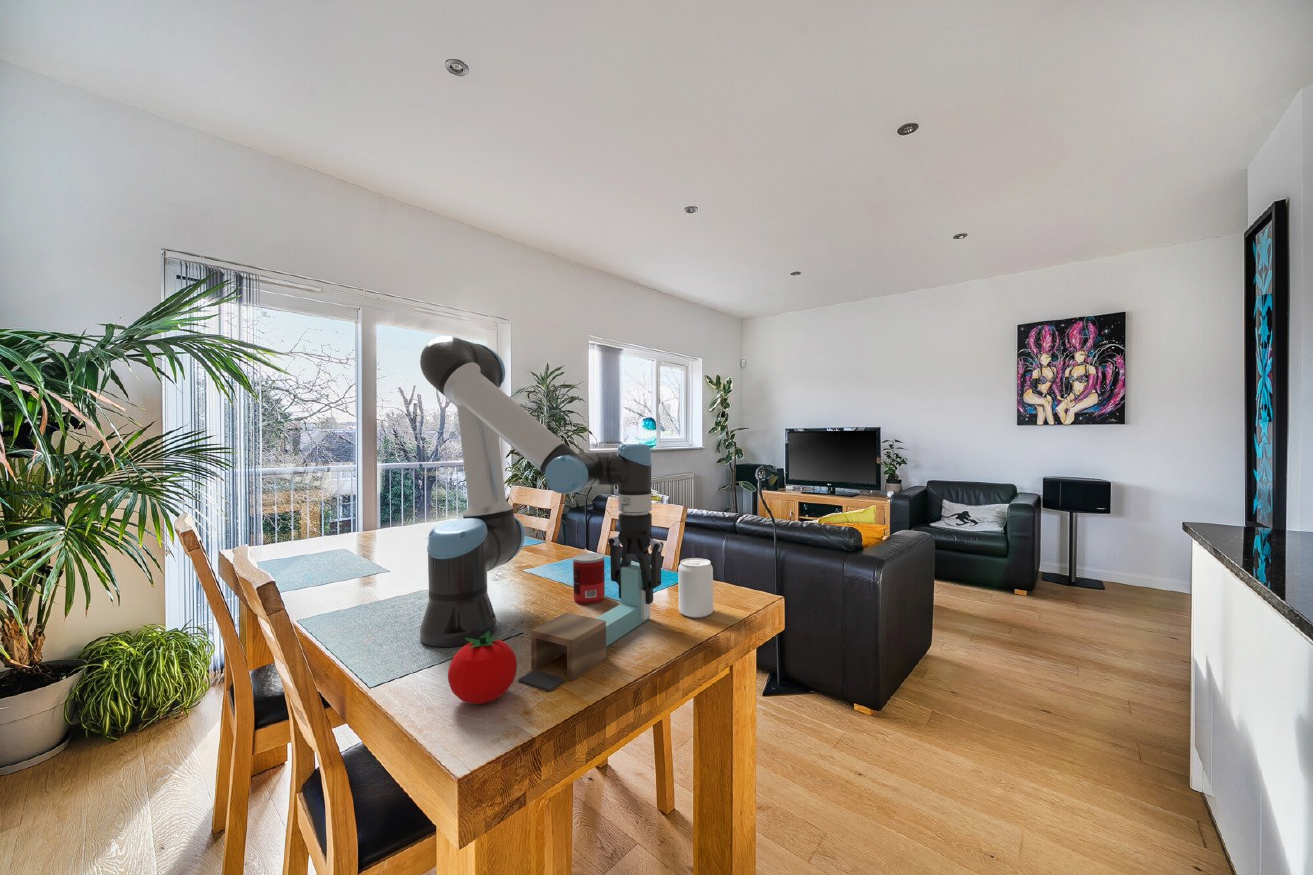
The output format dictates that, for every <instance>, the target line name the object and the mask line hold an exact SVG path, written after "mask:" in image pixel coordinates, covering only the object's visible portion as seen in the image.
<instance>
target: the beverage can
mask: <svg viewBox="0 0 1313 875" xmlns="http://www.w3.org/2000/svg"><path fill="white" fill-rule="evenodd" d="M679 563H680V564H679V565H678V568H677V570H678V571H677V572H678V573H677V574H678V578H677V579H678V586H677V589H678V592H677V593H678V612H679V613H680V614H682V615H684V616H685V617H688V618H695V619H697V618H699V619H701V618H705V617H708V616H710V615H711V614H712V613H713V612H714V568H713V567H714V566H712V564H711V563H712V562H711V560H709V559H705V558H701V557H690V558H684V559H681V560H680V562H679Z"/></svg>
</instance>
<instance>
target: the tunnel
mask: <svg viewBox="0 0 1313 875" xmlns="http://www.w3.org/2000/svg"><path fill="white" fill-rule="evenodd" d="M596 618H597V617H591V616H586V615H582V614H576V613H571V612H564V613H563V614H561V615H558V616H557V617H555V618H553V619H551V620H548V621H547V622H545V623H542V624H541V625H539V626H537V627H534V628H533V629H531V630H530V648H531V649H530V652H531V653H530V654H531V656H530V657H531V658H530V659H531V662H530V663H531V664H530V666H531V670H532V671H533V670H534V669H535V670H538V671H539V670H540V669H542V668H543V667H545V666H546V665H548V664H549V663H551V662H553V661H555V660H556V659H558V658H560V657H561V656H563V655H564V654H566V678H567V680H568V681H571V682H574V681H575V680H577V679H578V678H579V677H581V676H582V675H584V674H585V673H587V672H588V671H590V670H591V669H592V668H594V667H595V666H597V665H599V664H600V663H601V662H602V661H604V660H605V659H607V647H606V621H605V620H600V619H596Z"/></svg>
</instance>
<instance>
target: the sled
mask: <svg viewBox="0 0 1313 875" xmlns="http://www.w3.org/2000/svg"><path fill="white" fill-rule="evenodd" d="M643 588H644V585H643V580H642V575H641V569H640V565H639V563H638V562H631V564H630V565H628V566H626V567H622V568H621V599H620V604H619V605H616V606H615V607H613V608H611V609H610V610H608V611H606V612H604V613H602V614H601V615H599V616H597V617H595V618H596V619H600V620H605V621H606V648H607V647H608V646H610V645H611V644H613V643H615V642H616V641H617V640H619V639H620V638H621V637H623V636H625V635H626V634H628V633H630V632H631V631H633V630H634V629H636V628H637V627H638V626H640V625H642V624H643V623H644V622H646V621H647V620H649V619H650V618H651V615H650V616H649V617H648V618H646V619H645V620H643V619H641V590H642V589H643Z"/></svg>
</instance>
